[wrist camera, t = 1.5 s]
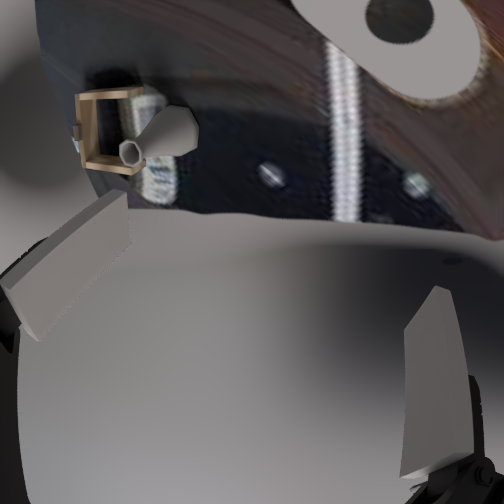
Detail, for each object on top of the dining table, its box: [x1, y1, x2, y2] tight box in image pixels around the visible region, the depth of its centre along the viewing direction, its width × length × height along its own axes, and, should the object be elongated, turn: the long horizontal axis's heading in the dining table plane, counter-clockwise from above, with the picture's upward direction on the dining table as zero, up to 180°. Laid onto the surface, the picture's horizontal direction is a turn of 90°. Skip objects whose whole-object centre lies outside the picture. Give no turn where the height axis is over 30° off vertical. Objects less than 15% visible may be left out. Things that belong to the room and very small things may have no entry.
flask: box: [119, 105, 199, 167], centre depth 32 cm, size 7×7×10 cm
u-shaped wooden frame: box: [73, 87, 146, 175], centre depth 37 cm, size 11×12×4 cm
